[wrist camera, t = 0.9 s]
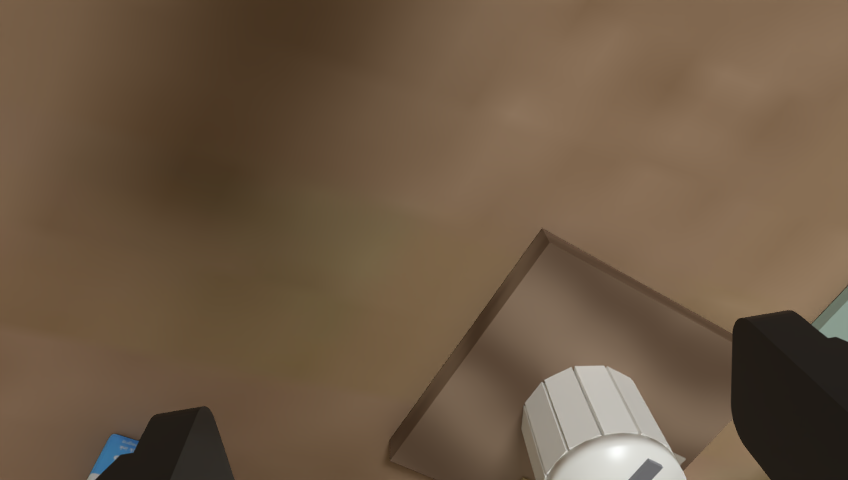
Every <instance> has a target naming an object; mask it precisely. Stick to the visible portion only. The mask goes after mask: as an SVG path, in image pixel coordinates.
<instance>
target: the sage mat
mask: <svg viewBox="0 0 848 480" xmlns="http://www.w3.org/2000/svg"><path fill="white" fill-rule="evenodd" d="M811 325H812V326H814V327H815V328H816V329H817V330H819V331H820V332H821V333H822V334H824V335H825V336H826V337H827V338H832V337H838V338H840V339H843V340H845V341H847V342H848V286H847V287H846V288H845V290H844V291H843V292H842V293H841V294H840V295H839V296H838V297H837V298H836V299H835V300H834V301H833V302H832V303H831V304H830V305H829V306H828V307H827V309H826V310H825V311H824V312H823V313H822V314H821V315H820V316H819V317H818V318H817V319H816V320H815V321H814V322H813V323H812V324H811Z"/></svg>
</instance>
